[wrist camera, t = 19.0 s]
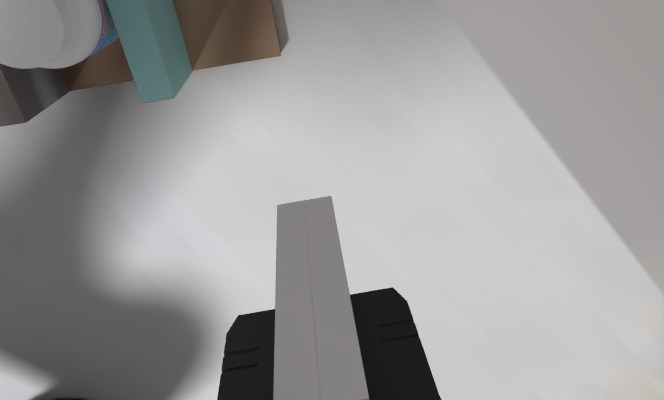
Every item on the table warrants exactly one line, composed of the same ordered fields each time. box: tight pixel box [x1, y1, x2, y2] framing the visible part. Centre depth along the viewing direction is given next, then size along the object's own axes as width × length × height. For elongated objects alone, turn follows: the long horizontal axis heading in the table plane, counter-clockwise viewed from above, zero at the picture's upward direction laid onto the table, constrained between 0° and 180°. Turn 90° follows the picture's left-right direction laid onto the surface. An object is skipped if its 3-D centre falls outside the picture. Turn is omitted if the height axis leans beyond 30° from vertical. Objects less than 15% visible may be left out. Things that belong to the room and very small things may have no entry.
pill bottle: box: [0, 0, 119, 69], centre depth 28 cm, size 6×6×11 cm
